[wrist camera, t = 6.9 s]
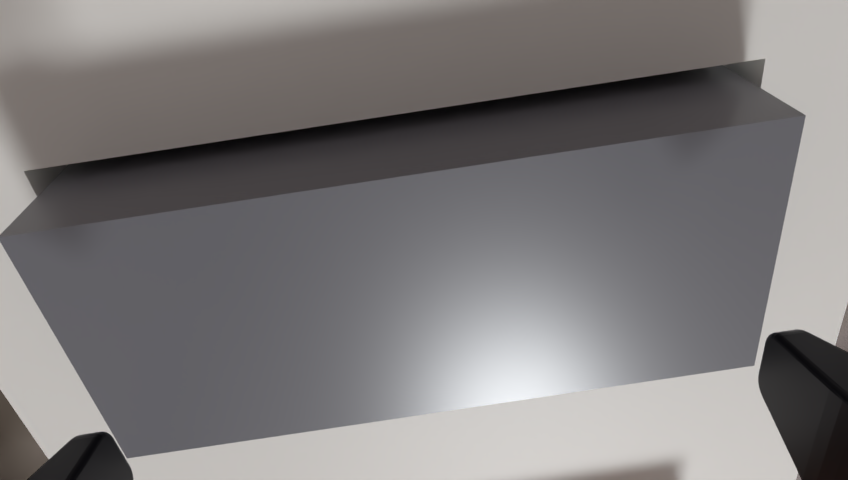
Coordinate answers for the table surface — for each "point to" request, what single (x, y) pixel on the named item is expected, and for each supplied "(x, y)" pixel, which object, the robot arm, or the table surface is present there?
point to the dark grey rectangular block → (416, 259)
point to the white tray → (403, 93)
